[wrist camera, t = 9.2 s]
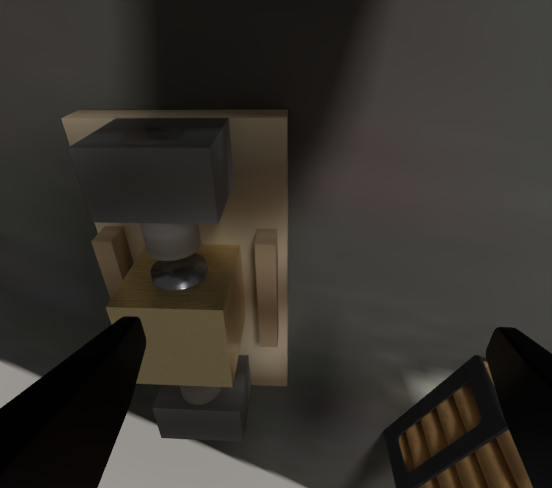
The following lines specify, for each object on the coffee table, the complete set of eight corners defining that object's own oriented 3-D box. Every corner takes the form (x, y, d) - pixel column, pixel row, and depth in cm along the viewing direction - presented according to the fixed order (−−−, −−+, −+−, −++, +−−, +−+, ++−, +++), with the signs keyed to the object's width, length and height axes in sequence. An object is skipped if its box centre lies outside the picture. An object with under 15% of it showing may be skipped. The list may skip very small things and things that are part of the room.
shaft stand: (78, 110, 18) (0, 147, 13) (287, 109, 17) (282, 148, 13) (151, 363, 28) (121, 436, 23) (287, 368, 27) (285, 443, 22)
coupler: (239, 240, 20) (222, 304, 15) (246, 319, 23) (233, 391, 18) (145, 238, 20) (103, 301, 16) (164, 316, 23) (133, 387, 19)
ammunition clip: (476, 353, 25) (593, 587, 15) (498, 362, 25) (626, 598, 15) (382, 431, 31) (422, 642, 20) (401, 438, 31) (449, 648, 21)
